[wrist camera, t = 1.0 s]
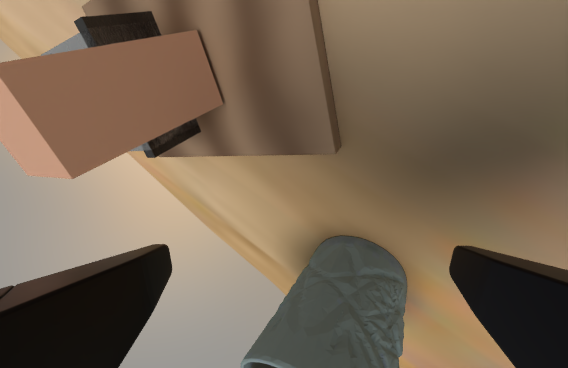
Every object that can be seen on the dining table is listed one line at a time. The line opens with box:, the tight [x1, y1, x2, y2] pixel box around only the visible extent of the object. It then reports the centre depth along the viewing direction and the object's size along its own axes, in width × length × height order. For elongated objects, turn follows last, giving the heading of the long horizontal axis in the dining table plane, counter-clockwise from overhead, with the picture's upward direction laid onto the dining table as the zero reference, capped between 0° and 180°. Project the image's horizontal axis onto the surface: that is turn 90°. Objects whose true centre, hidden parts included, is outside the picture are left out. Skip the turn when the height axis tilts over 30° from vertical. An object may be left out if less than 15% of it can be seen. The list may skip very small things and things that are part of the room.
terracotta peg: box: [0, 30, 223, 179], centre depth 17 cm, size 6×5×11 cm
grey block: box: [41, 11, 201, 158], centre depth 22 cm, size 8×9×5 cm
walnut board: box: [82, 0, 341, 157], centre depth 21 cm, size 20×14×1 cm
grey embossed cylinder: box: [241, 236, 407, 368], centre depth 21 cm, size 10×10×12 cm
